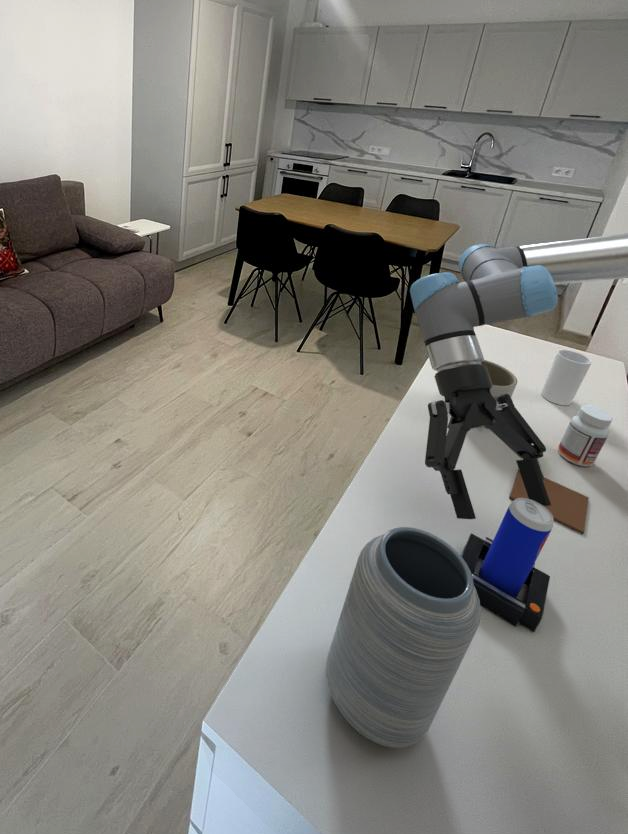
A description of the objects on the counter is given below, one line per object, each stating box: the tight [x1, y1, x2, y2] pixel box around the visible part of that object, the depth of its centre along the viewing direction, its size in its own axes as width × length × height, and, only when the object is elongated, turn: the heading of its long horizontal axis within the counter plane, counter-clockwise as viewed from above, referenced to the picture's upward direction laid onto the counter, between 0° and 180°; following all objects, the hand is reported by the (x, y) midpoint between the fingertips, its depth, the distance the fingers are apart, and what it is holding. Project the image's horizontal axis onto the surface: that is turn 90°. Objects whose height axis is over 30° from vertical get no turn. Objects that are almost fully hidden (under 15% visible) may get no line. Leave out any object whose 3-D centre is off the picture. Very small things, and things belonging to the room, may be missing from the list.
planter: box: [481, 359, 518, 411], centre depth 113 cm, size 12×12×11 cm
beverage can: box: [478, 498, 554, 598], centre depth 71 cm, size 5×5×15 cm
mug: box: [540, 349, 593, 406], centre depth 122 cm, size 10×7×12 cm, turn 148°
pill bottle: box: [557, 404, 614, 468], centre depth 100 cm, size 6×6×11 cm
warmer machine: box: [460, 532, 551, 633], centre depth 73 cm, size 11×11×3 cm
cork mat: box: [508, 470, 590, 535], centre depth 91 cm, size 11×11×1 cm
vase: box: [325, 526, 482, 749], centre depth 54 cm, size 12×12×23 cm
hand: (504, 512), depth 72 cm, fingers open, 13 cm apart
